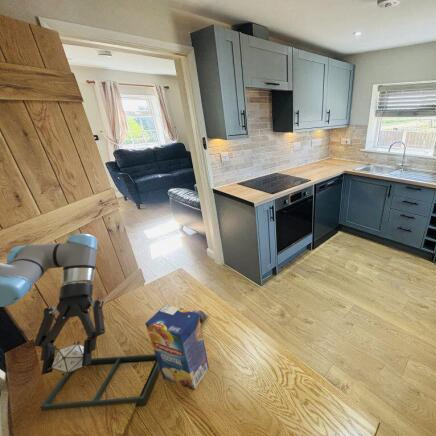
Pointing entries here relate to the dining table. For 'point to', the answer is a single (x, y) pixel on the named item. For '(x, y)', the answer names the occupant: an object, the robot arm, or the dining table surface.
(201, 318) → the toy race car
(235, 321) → the dining table surface
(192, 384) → the juice carton
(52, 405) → the grid
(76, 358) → the game die
